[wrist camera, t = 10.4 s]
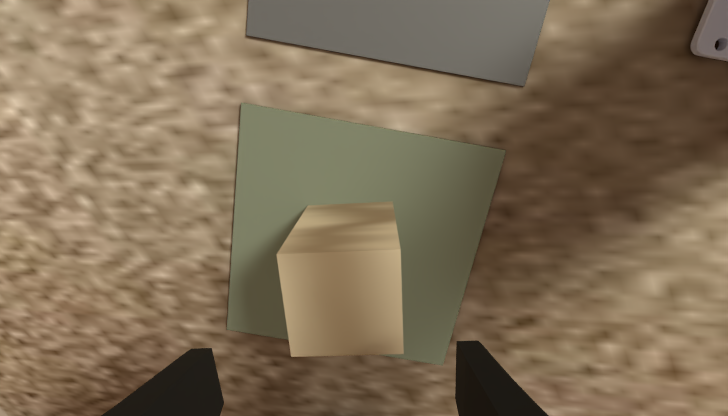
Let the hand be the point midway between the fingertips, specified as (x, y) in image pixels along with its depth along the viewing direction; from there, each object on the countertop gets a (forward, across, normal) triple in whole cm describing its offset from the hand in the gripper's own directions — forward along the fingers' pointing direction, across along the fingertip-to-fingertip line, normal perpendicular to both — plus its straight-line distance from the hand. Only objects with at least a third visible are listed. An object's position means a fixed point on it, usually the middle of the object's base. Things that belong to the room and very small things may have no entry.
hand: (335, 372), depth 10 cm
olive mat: (+9, 0, 0) cm, 9 cm away
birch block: (+9, 0, 0) cm, 9 cm away
